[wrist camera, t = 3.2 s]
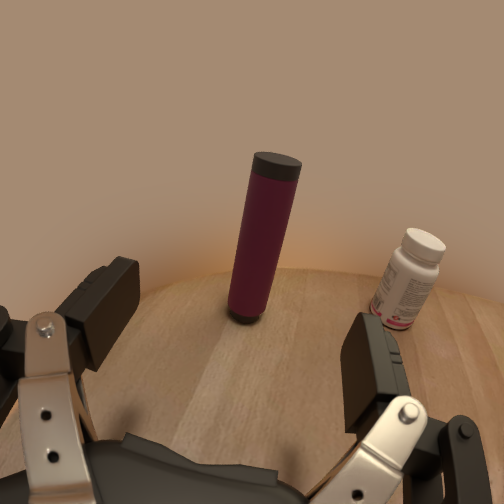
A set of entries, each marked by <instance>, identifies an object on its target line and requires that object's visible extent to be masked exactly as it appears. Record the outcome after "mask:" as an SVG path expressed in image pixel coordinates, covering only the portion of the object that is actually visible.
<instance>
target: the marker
mask: <svg viewBox="0 0 504 504" xmlns="http://www.w3.org/2000/svg"><path fill="white" fill-rule="evenodd" d="M301 166H302V163H301V162H300V161H298V160H297V159H294V158H292V157H289V156H285V155H281V154H277V153H271V152H256V153H255V154H254V159H253V164H252V170H251V175H250V179H249V185H248V190H247V196H246V201H245V207H244V212H243V217H242V223H241V228H240V234H239V240H238V245H237V250H236V256H235V262H234V268H233V273H232V279H231V284H230V290H229V296H228V305H229V307H230V314H231V316H232V317H233V318H234V319H235V320H237V321H239V322H241V323H253V322H255V321H256V320H257V319H258V318H259V316H260V314H262V313H263V312H264V310H265V308H266V304H267V301H268V297H269V293H270V290H271V286H272V282H273V278H274V274H275V271H276V267H277V263H278V259H279V255H280V251H281V247H282V244H283V240H284V236H285V232H286V228H287V224H288V219H289V216H290V212H291V208H292V204H293V200H294V196H295V191H296V187H297V183H298V179H299V175H300V171H301Z"/></svg>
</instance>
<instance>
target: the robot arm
mask: <svg viewBox="0 0 504 504" xmlns="http://www.w3.org/2000/svg"><path fill="white" fill-rule="evenodd" d="M139 301H140V278H139V263H138V261H135V260H132V259H128V258H124V257H121V256H118V257H116V258H115V259H114V260H113V262H112V263H111V264H110V265H109V266H108V267H106V266H102V267H100V268H98V269H96V270H94V271H92V272H91V273H90V274H89V275H88V276H87V277H86V278H85V279H84V282H81V283H80V284H79V286H78V287H77V289H75V290H74V291H73V292H72V293H71V294H70V295H69V296H68V297H67V298H66V299H65V301H64V302H63V303H62V304H61V305H60V306H59V307H58V308H57V309H56V311H55V312H42V313H39V314H37V315H35V316H33V317H32V318H31V319H30V320H29V321H20V320H13V319H10V317H9V314H8V311H7V309H6V308H5V307H3V306H1V305H0V428H1V426H2V425H3V423H4V421H5V419H6V417H7V416H8V414H9V412H10V410H11V409H12V407H13V405H14V404H15V402H16V400H17V399H18V403H19V418H20V429H21V438H22V446H23V454H24V460H25V466H26V469H25V470H23V471H20V472H18V473H15V474H12V475H9V476H7V477H4V478H1V479H0V504H386V503H387V502H388V500H389V499H390V497H391V496H392V494H393V493H394V491H395V490H396V488H397V487H398V485H399V484H400V482H401V480H402V478H403V504H492V497H491V489H490V483H489V477H488V471H487V466H486V461H485V456H484V451H483V446H482V442H481V438H480V433H479V430H478V428H477V426H476V424H475V423H474V422H473V421H472V420H471V419H470V418H468V417H466V416H463V415H457V416H455V417H453V418H452V419H451V420H450V421H449V422H448V423H445V422H442V421H439V420H436V419H433V418H430V417H428V416H427V412H426V409H425V408H424V406H423V405H422V404H421V403H420V402H419V401H418V400H416V399H415V398H413V397H411V393H410V389H409V385H408V381H407V377H406V373H405V369H404V365H402V363H403V362H402V358H401V356H400V351H399V347H398V344H397V342H396V340H395V339H394V337H393V336H392V335H391V333H390V332H388V331H384V328H383V324H382V321H381V318H380V316H378V315H372V314H367V313H362V312H359V313H358V314H357V316H356V318H355V320H354V322H353V324H352V326H351V328H350V330H349V332H348V334H347V336H346V338H345V340H344V343H343V345H342V349H341V355H340V361H341V372H342V385H343V400H344V417H345V433H354V434H356V436H357V441H356V442H355V443H354V444H353V445H352V446H351V447H350V448H349V450H348V451H347V452H346V453H345V454H344V455H343V457H342V458H341V459H340V460H339V461H338V462H337V463H336V465H335V466H334V467H333V468H332V469H331V470H330V471H329V472H328V473H327V474H326V476H325V477H324V478H323V479H322V480H321V481H320V482H319V483H318V484H316V485H315V486H314V487H313V488H312V489H311V490H310V491H309V492H308V493H307V494H306V495H305V496H304V495H303V494H302V493H301V492H300V491H298V490H297V489H295V488H294V487H292V486H291V485H289V484H287V483H285V482H283V481H280V480H277V478H278V471H277V470H270V469H264V468H258V467H252V466H246V465H241V464H236V465H206V464H197V463H195V462H193V461H191V460H189V459H187V458H185V457H183V456H181V455H179V454H178V453H176V452H174V451H172V450H170V449H169V448H167V447H165V446H163V445H162V444H159V443H156V442H153V441H150V440H147V439H144V438H141V437H138V436H136V435H133V434H130V433H127V432H126V434H125V436H124V438H123V440H111V439H110V440H98V437H97V434H96V432H95V429H94V426H93V423H92V420H91V416H90V411H89V407H88V402H87V398H86V393H85V388H84V383H83V378H82V373H83V372H84V370H85V368H87V369H89V370H92V371H94V372H97V371H98V369H99V367H100V366H101V364H102V363H103V361H104V359H105V358H106V356H107V355H108V353H109V351H110V350H111V348H112V347H113V345H114V343H115V342H116V340H117V339H118V337H119V336H120V334H121V333H122V331H123V330H124V328H125V326H126V325H127V323H128V322H129V320H130V319H131V317H132V316H133V314H134V313H135V311H136V310H137V307H138V305H139ZM442 472H443V474H444V483H445V497H444V498H443V486H442V477H441V473H442Z"/></svg>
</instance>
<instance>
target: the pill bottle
mask: <svg viewBox="0 0 504 504" xmlns="http://www.w3.org/2000/svg"><path fill="white" fill-rule="evenodd" d="M401 245H402V247H398V248H397V249H395V251H394V252H393V254H392V257H391V259H390V261H389V263H388V266H387V268H386V270H385V273H384V275H383V277H382V279H381V282H380V284H379V286H378V288H377V291H376V293H375V295H374V297H373V299H372V302H371V311H372V313H373V315H378V316H380V318H381V321H382V323H383V324H384V325H386V326H388V327H391V328H394V329H405V328H408V327H409V326H411V325H412V323H413V322H414V320H415V318H416V316H417V315H418V313H419V311H420V310H421V308H422V306H423V304H424V302H425V300H426V298H427V297H428V295H429V293H430V291H431V289H432V287H433V285H434V283H435V281H436V279H437V276H438V274H439V267H438V264H439V263H440V261H441V260H442V257H443V255H444V252H445V250H446V247H445V245H444V244H443V243H442V242H441V241H440V240H439V239H438V238H436V237H435V236H433V235H431V234H429V233H427V232H425V231H422V230H419V229H415V228H409V229H407V230H406V233H405V235H404V237H403V240H402V243H401Z"/></svg>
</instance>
